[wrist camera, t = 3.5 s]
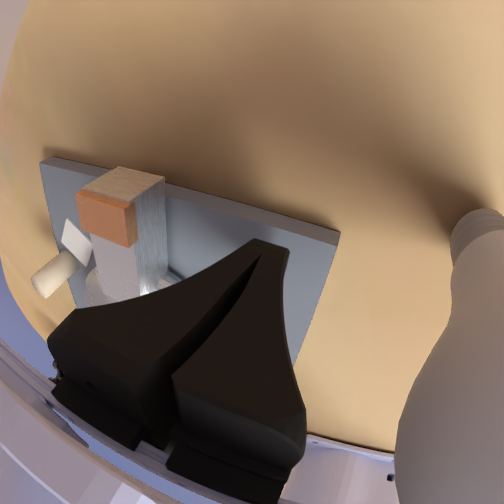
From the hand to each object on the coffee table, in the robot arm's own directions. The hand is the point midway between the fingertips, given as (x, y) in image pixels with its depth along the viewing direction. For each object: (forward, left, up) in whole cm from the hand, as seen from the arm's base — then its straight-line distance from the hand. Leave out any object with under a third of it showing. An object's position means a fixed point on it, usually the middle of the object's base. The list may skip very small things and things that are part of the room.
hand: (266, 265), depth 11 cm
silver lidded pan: (+6, +5, -1) cm, 8 cm away
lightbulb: (-7, -3, -2) cm, 8 cm away
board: (+6, +7, -2) cm, 9 cm away
